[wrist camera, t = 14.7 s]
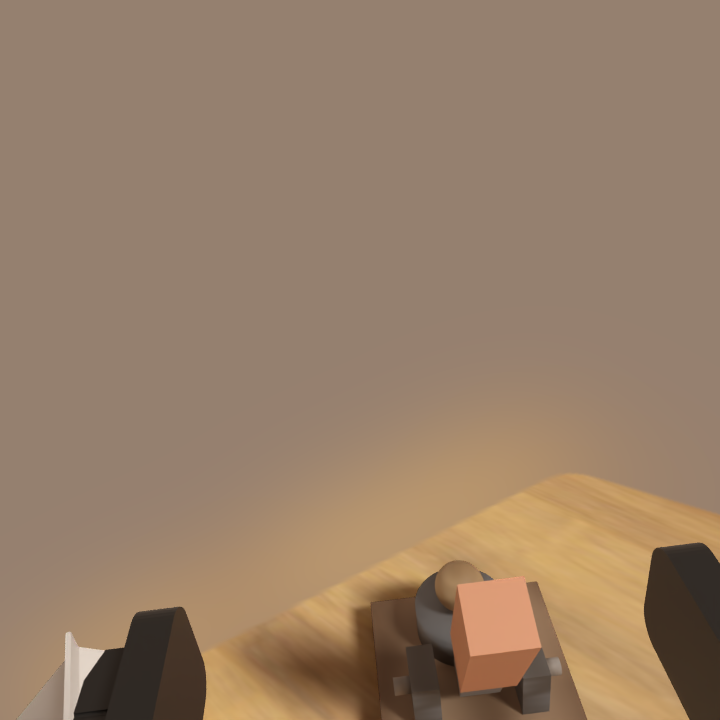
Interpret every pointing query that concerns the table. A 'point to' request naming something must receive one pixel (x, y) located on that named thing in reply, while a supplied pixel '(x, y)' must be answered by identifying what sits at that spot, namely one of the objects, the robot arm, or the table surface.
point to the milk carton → (63, 685)
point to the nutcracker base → (453, 704)
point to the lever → (492, 635)
